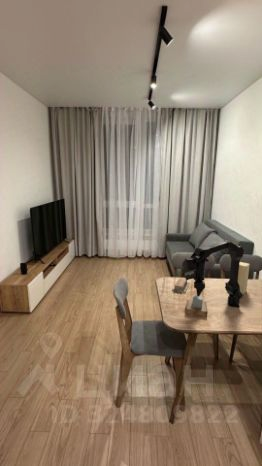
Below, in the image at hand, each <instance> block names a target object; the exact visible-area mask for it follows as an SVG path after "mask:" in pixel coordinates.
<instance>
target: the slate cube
mask: <svg viewBox="0 0 262 466" xmlns="http://www.w3.org/2000/svg"><path fill="white" fill-rule="evenodd" d="M192 300H193V301H192V306H193V307H196V308H202V302H204V300H203V295H200V296H199V297H198V296H197V294H193V295H192Z"/></svg>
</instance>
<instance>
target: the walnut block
mask: <svg viewBox="0 0 262 466" xmlns="http://www.w3.org/2000/svg"><path fill="white" fill-rule="evenodd" d="M192 301H193V299H186V304H185V305H186V310H185V311H186V312H185V313H186V315H189V316H196V317H204V318H207V317H208V314H209V312H208V306H207V301H203V302H202V308H196V307H193V306H192Z"/></svg>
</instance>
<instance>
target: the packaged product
mask: <svg viewBox="0 0 262 466" xmlns="http://www.w3.org/2000/svg"><path fill="white" fill-rule="evenodd" d="M190 284H191V282H189V281H188V280H186V278H185V277H183V278H178V279H177V281H176V283H175V284H174V285H173V287H172V289H171V291H172V292H176V293H177V292H179V293H184V294H186V292H187V291H188V288H190Z"/></svg>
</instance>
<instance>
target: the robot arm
mask: <svg viewBox="0 0 262 466" xmlns="http://www.w3.org/2000/svg"><path fill="white" fill-rule="evenodd" d="M226 249H227V250H228V252H229V253H228V254H229V256H230V272H229V278H228V279H229V280H228V281H227V282H225V286H224V289H225V291H226V294H228V295H227V301H226V303H227V304H228V306H229V307H234V308H240V307H241V306H240V302H241V301H240V300H241V299H242V298H243V296H244V294H242V293H241V292H240V286H239V284H238V274H239V263H240V262H241V261H240V260H241V259H242V258H243V256H244V254H245V253H244V252H245V250H244V248H243V247H242V246H239V245H237V244H235V243H234V242H232V241H229V240H227V239H224V240H222V241H221V242H217V243H214V244H212V245H208V246H198V247H196V248H195V250H194V251H193V253H192V254H191V255H190V257H189V258H184V260H183V261H182V269H183V270H184V271H187V272H185V273H184V278H185V279H186V280H187V281H189V280H192V279H193V280H194V281H193V288H194V289H196V290H195V291H196V295H197V296H198V297H199V296H201V294H202V292H204V290H205V289H206V283H205V275H206V274H205V273H206V269H205V268H206V263H207V262H209V259H208V258H210V256H211V255H212V254H215V253H218V252H220V251H223V250H226Z"/></svg>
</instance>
